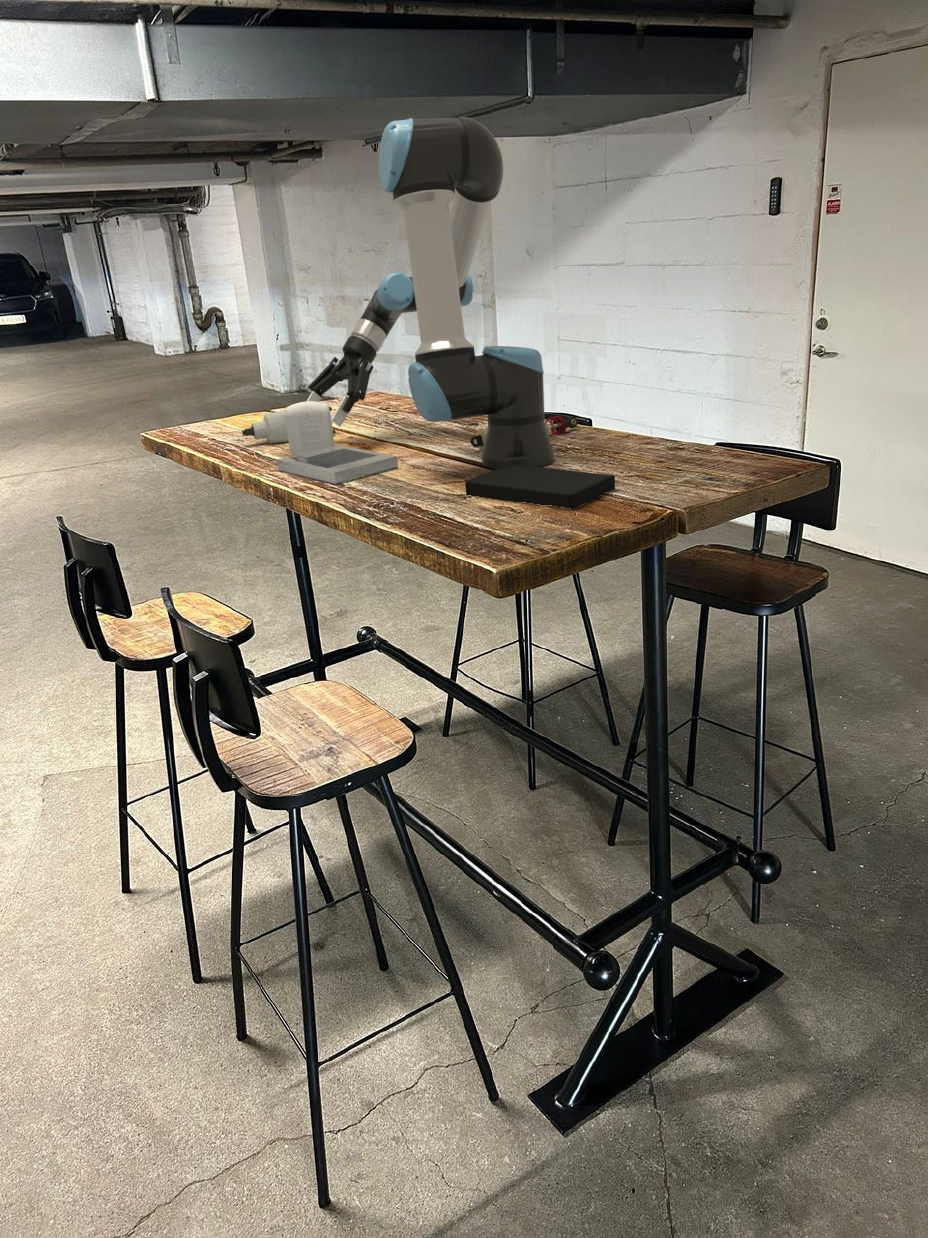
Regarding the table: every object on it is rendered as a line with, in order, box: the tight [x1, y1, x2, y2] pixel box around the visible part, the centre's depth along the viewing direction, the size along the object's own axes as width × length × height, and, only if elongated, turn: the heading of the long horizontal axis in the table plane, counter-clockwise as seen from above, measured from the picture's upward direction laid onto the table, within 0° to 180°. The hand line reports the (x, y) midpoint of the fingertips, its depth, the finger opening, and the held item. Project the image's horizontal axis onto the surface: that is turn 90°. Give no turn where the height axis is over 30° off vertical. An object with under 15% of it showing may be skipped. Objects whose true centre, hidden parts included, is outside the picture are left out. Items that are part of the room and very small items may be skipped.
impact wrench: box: [241, 404, 336, 444], centre depth 232 cm, size 8×23×25 cm
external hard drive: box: [464, 464, 616, 510], centre depth 162 cm, size 14×23×3 cm, turn 51°
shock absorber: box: [469, 415, 579, 451], centre depth 203 cm, size 5×5×30 cm
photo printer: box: [285, 400, 335, 459], centre depth 204 cm, size 10×4×12 cm, turn 98°
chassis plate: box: [276, 444, 399, 485], centre depth 191 cm, size 22×16×2 cm
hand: (319, 420), depth 206 cm, fingers open, 13 cm apart
